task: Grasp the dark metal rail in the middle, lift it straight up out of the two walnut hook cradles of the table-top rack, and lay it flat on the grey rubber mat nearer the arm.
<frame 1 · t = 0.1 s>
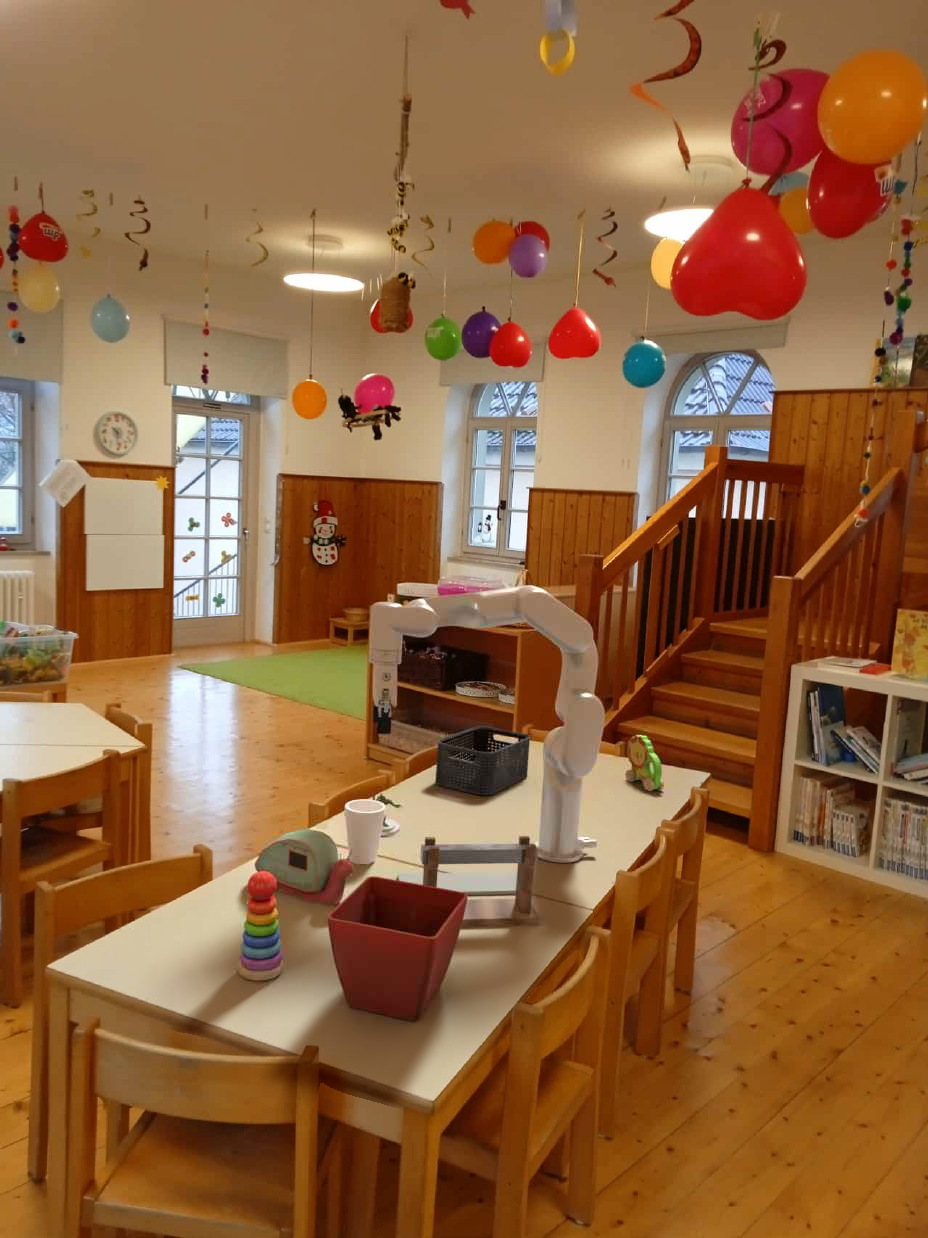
hand: (381, 728, 219), 31 cm above the table, tool pointing down, fingers open, 9 cm apart
stacking toy: (260, 972, 168), on the table
plant pot: (394, 997, 162), on the table
storage bin: (482, 781, 287), on the table
mat: (462, 885, 209), on the table
foam cup: (362, 860, 220), on the table
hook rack: (475, 916, 195), on the table
toy snail: (304, 893, 201), on the table
toy lion: (641, 785, 292), on the table
rail: (479, 860, 193), point 12 cm above the table, touching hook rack
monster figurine: (376, 829, 241), on the table
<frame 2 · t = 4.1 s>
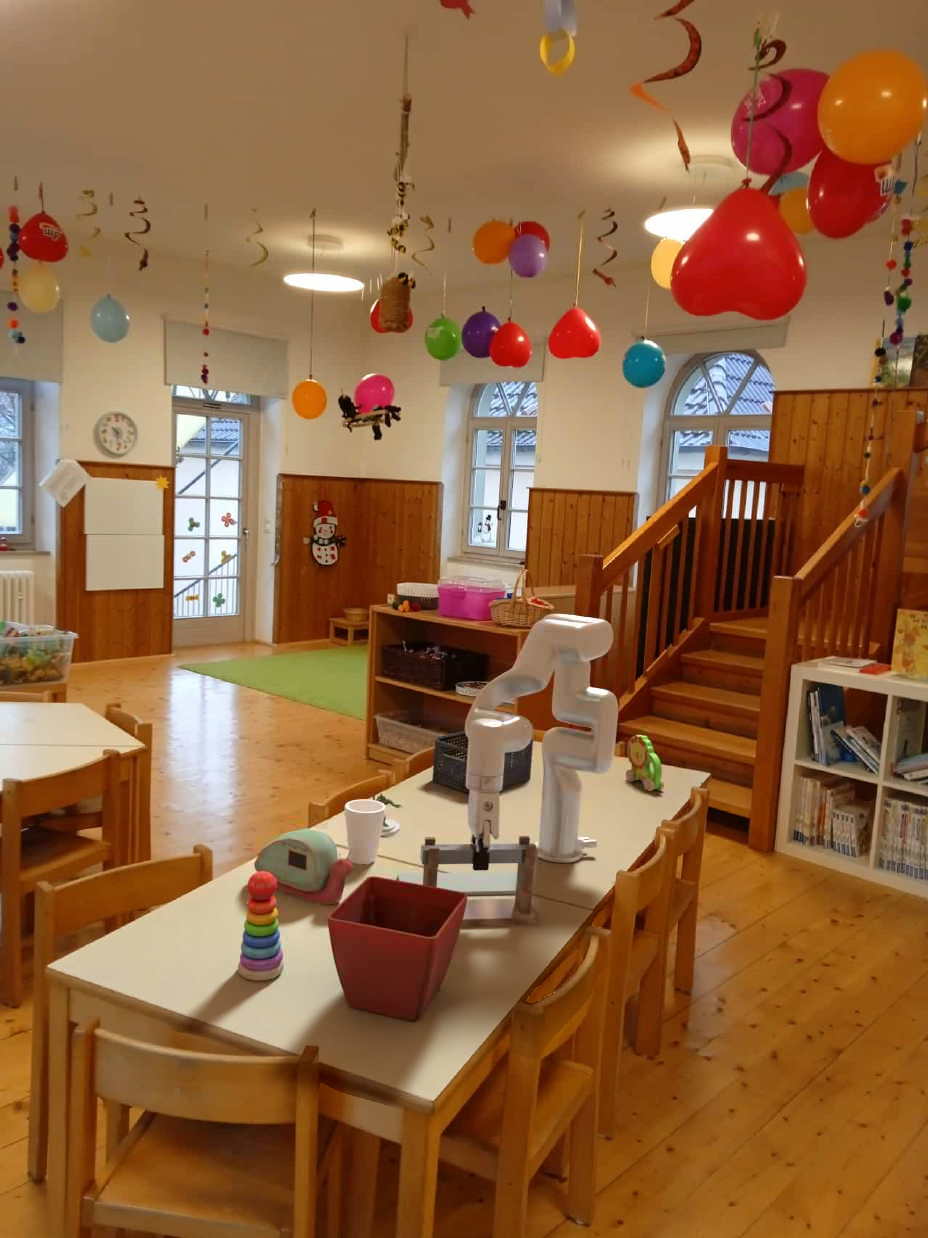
hand: (478, 865, 193), 11 cm above the table, tool pointing down, fingers closed on rail, 3 cm apart
rail: (479, 860, 193), point 12 cm above the table, touching gripper, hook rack
when the fingers open (1 cm above the table, at t = 13.7 s): rail drops 2 cm, resting on mat.
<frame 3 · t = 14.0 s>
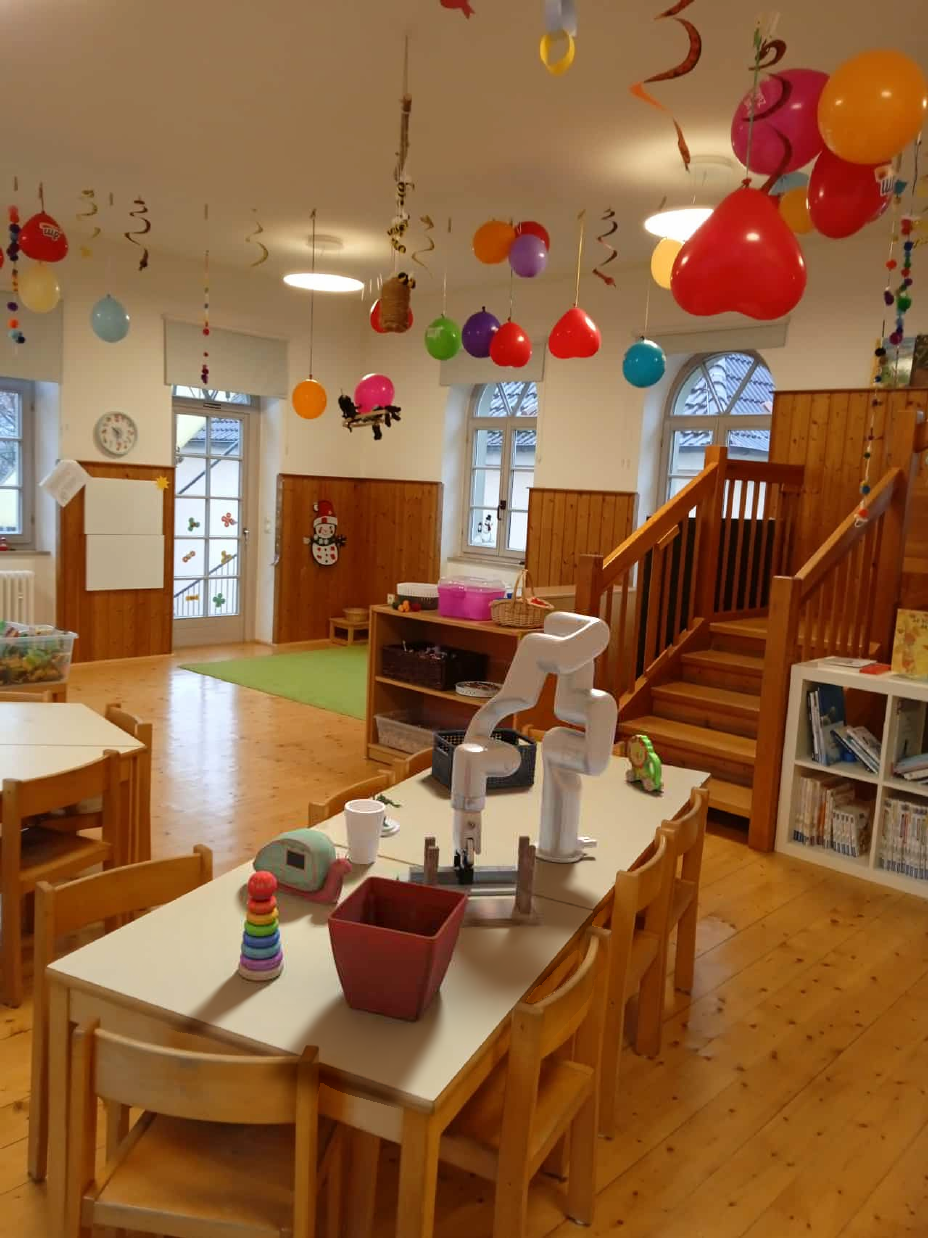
hand: (462, 877, 209), 2 cm above the table, tool pointing down, fingers open, 5 cm apart
rail: (462, 881, 209), point 1 cm above the table, touching mat
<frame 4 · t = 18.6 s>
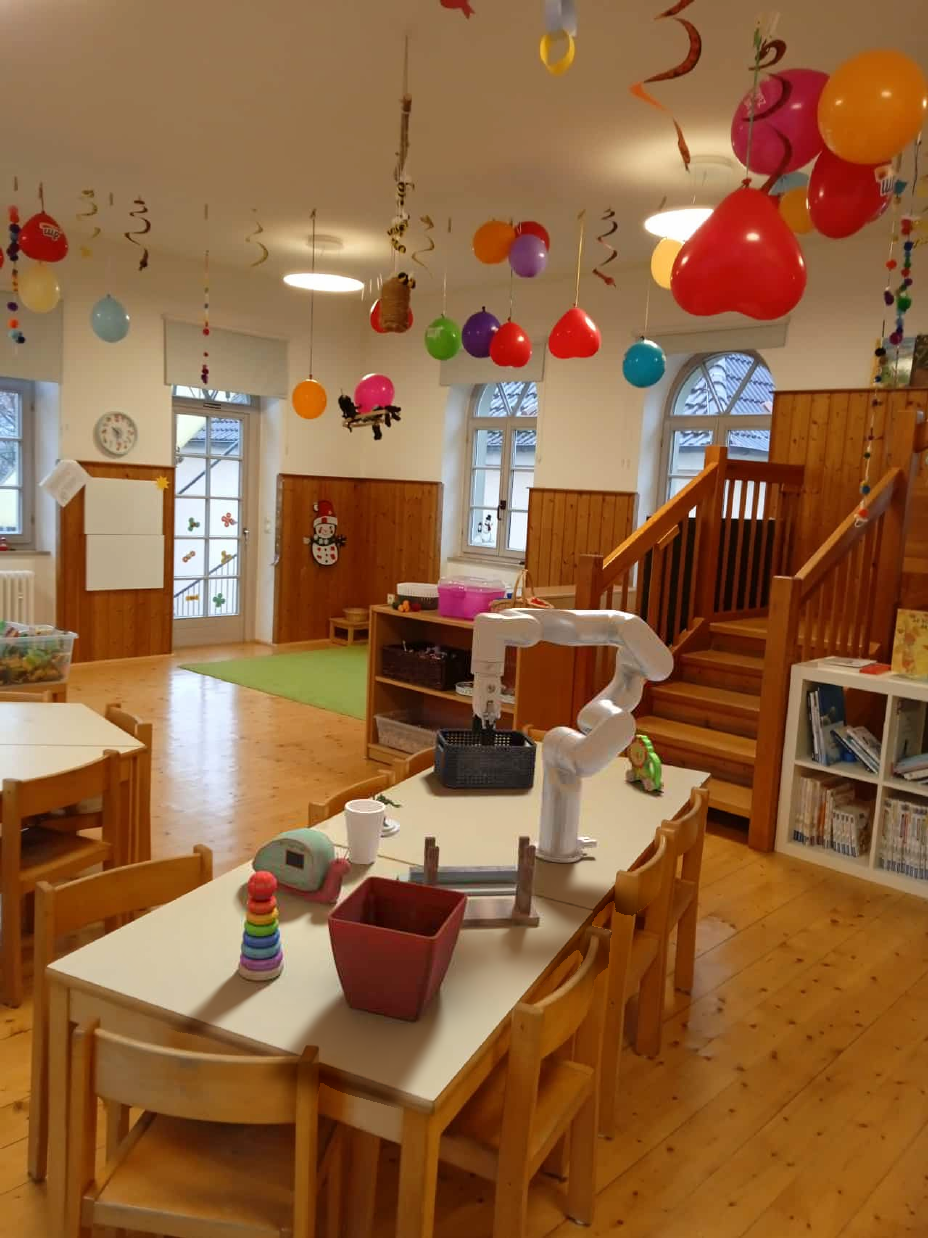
hand: (482, 739, 217), 30 cm above the table, tool pointing down, fingers open, 9 cm apart
at the end: rail inside the target area on the mat (0.2 cm from its centre), point 0.8 cm above the mat's base; rail tilted 0°; the gripper is holding nothing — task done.
